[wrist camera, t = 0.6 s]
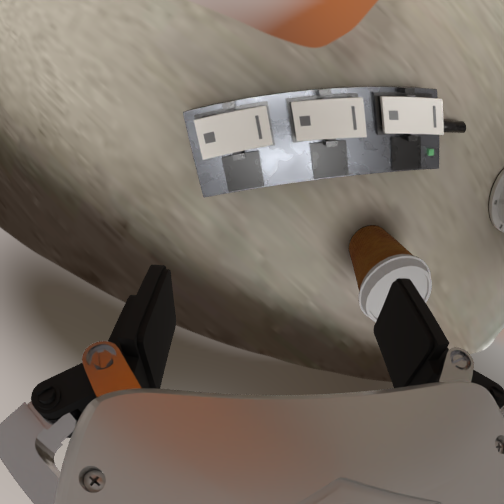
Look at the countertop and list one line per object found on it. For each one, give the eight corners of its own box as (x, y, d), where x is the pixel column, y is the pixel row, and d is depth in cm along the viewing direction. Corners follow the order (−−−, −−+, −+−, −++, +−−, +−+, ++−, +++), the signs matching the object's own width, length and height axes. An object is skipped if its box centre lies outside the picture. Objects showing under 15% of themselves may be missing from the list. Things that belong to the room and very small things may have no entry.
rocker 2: (361, 95, 25) (362, 95, 24) (365, 137, 27) (367, 139, 26) (291, 99, 27) (290, 100, 26) (298, 140, 29) (297, 143, 28)
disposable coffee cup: (325, 241, 40) (346, 297, 30) (379, 201, 37) (419, 245, 27) (358, 282, 44) (381, 338, 34) (407, 247, 41) (443, 297, 30)
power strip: (454, 90, 28) (481, 95, 23) (456, 158, 33) (480, 171, 28) (190, 109, 31) (178, 113, 26) (208, 186, 37) (200, 204, 31)
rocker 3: (438, 96, 24) (442, 97, 23) (440, 134, 26) (444, 136, 25) (379, 94, 26) (381, 94, 25) (382, 133, 28) (385, 135, 27)
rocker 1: (263, 103, 27) (266, 103, 26) (270, 144, 29) (273, 146, 28) (193, 118, 26) (193, 118, 25) (202, 159, 29) (203, 162, 27)
